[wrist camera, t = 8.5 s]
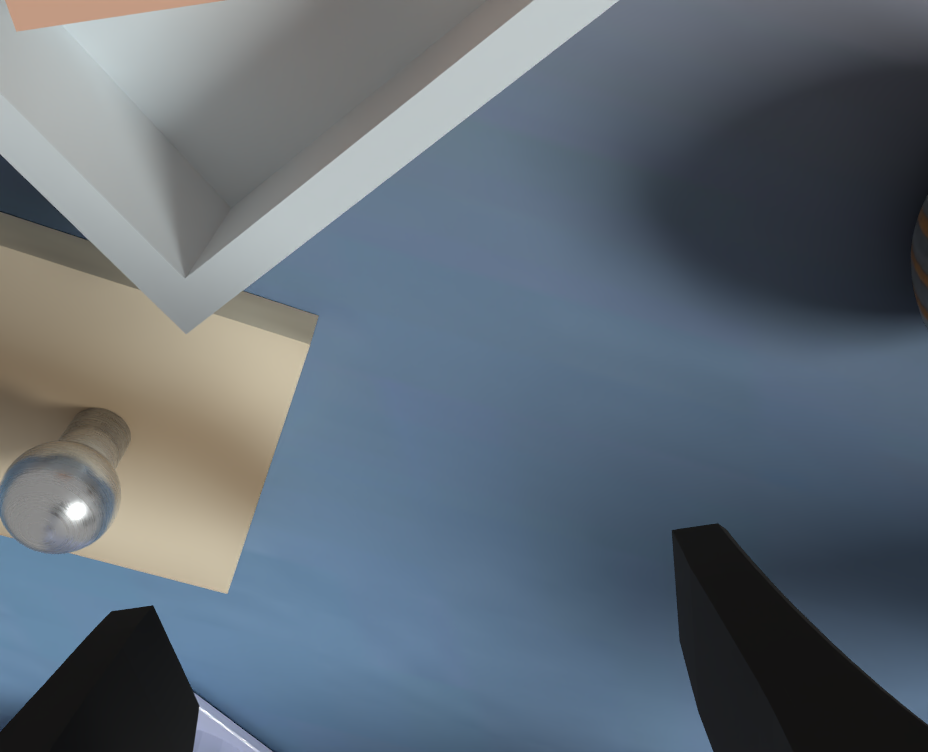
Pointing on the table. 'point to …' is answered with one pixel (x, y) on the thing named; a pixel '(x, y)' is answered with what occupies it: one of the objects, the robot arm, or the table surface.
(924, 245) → the vase
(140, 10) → the block
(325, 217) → the bin
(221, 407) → the base
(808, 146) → the table surface
